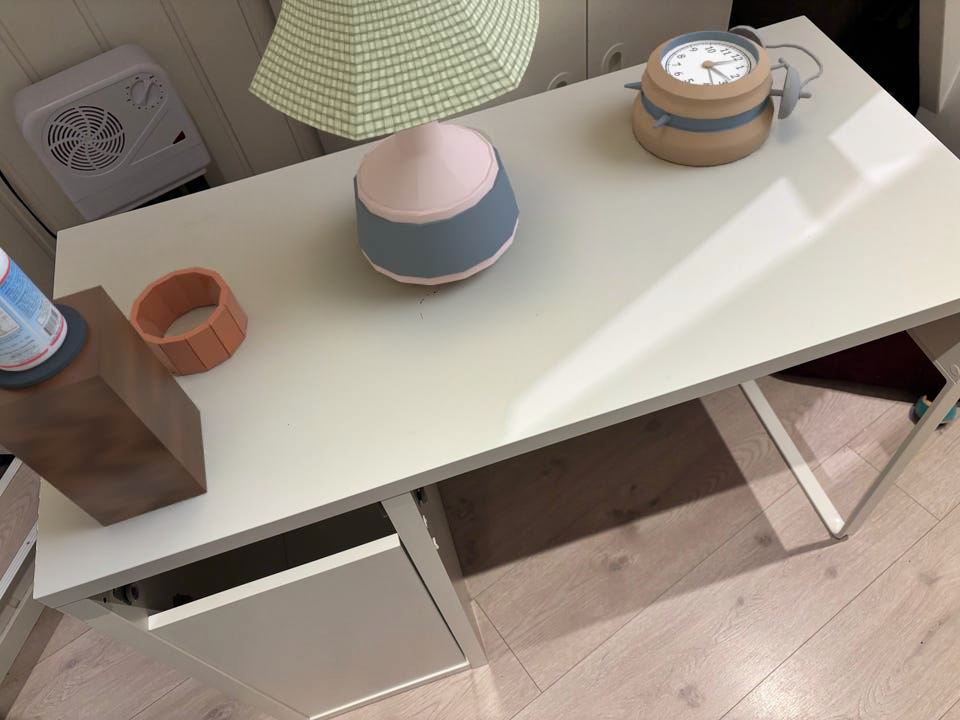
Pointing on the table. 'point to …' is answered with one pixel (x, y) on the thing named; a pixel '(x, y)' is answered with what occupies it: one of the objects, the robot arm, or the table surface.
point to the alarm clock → (712, 96)
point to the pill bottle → (26, 320)
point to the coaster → (57, 360)
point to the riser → (108, 422)
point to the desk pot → (174, 300)
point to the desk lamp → (409, 118)
